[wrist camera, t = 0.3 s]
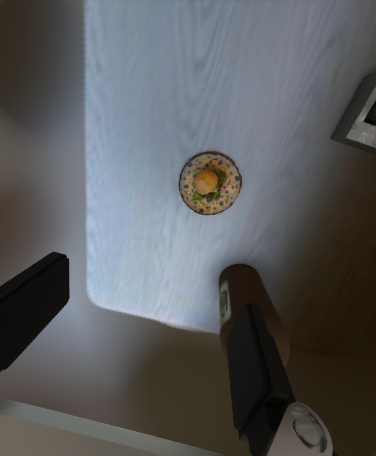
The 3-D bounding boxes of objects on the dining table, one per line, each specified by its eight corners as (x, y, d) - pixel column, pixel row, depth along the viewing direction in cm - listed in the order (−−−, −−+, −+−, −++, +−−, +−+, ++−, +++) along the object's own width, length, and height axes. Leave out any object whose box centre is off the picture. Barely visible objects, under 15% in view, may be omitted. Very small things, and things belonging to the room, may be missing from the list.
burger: (189, 218, 41) (185, 232, 34) (171, 162, 37) (163, 165, 30) (245, 203, 39) (254, 215, 32) (233, 142, 35) (239, 141, 28)
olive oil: (266, 263, 43) (334, 394, 20) (257, 300, 47) (306, 445, 24) (218, 259, 44) (231, 381, 21) (214, 295, 48) (220, 432, 25)
